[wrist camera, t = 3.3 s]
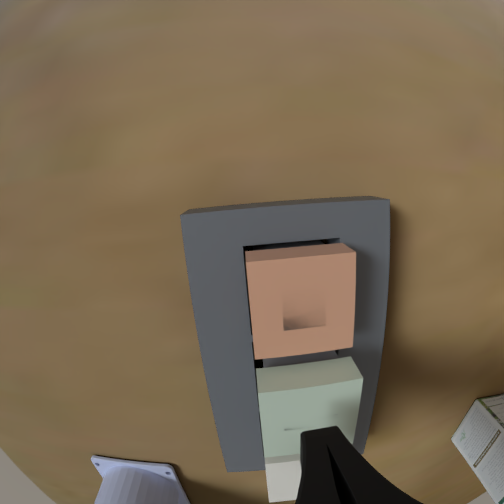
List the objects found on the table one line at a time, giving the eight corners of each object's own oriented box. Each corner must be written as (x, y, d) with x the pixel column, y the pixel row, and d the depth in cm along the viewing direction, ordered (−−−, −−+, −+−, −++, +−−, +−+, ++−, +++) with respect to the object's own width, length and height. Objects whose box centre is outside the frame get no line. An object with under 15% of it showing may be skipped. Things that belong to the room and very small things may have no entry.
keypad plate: (354, 432, 21) (363, 453, 18) (228, 448, 21) (227, 472, 18) (370, 195, 16) (389, 199, 14) (189, 209, 16) (180, 214, 14)
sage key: (331, 391, 17) (352, 443, 13) (259, 400, 17) (264, 457, 13) (335, 329, 16) (363, 377, 12) (253, 338, 16) (257, 393, 12)
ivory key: (327, 442, 18) (342, 491, 14) (264, 450, 18) (269, 502, 14) (331, 398, 17) (351, 451, 13) (260, 407, 17) (265, 464, 13)
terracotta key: (327, 307, 18) (352, 347, 13) (251, 315, 17) (255, 359, 13) (326, 232, 17) (356, 252, 12) (244, 239, 16) (245, 262, 12)
